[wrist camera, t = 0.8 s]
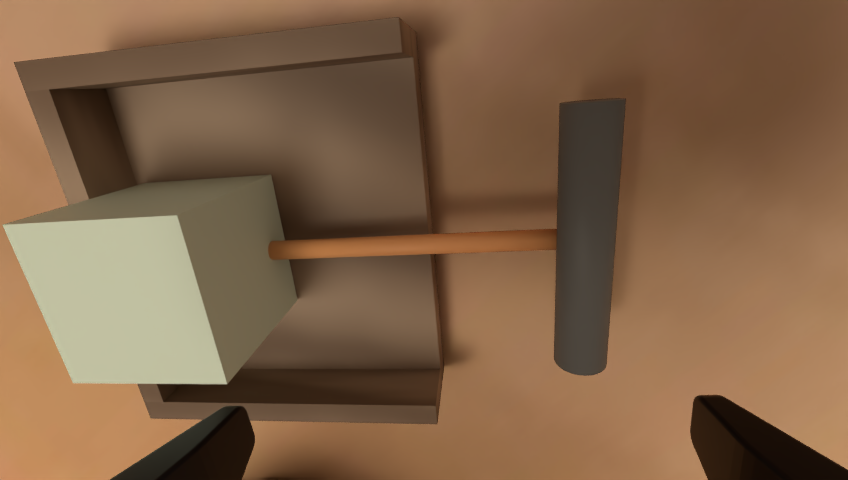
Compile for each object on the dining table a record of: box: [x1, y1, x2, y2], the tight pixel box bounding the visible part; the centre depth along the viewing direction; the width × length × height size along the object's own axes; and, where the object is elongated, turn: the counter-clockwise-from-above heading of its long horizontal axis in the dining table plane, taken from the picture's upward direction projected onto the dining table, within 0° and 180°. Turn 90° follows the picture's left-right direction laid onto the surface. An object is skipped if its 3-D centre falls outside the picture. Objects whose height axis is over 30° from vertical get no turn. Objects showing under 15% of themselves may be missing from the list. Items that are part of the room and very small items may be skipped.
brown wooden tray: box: [14, 17, 444, 424], centre depth 18 cm, size 16×14×4 cm
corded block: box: [3, 98, 626, 384], centre depth 15 cm, size 10×20×6 cm, turn 95°
